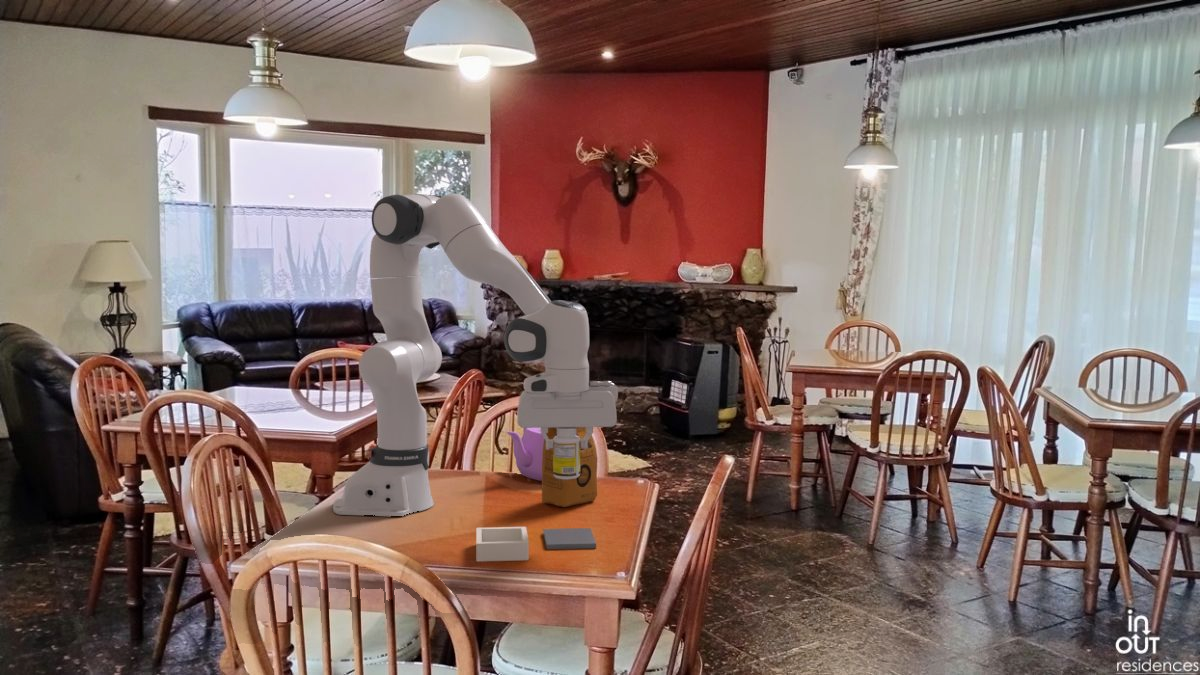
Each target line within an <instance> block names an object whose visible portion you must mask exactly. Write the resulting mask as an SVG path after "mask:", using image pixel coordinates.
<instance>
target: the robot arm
mask: <svg viewBox="0 0 1200 675" xmlns="http://www.w3.org/2000/svg"><path fill="white" fill-rule="evenodd" d="M371 226H372V229H373V231H374V233H375V234H374V235H373V237H372V239H371V241H370V242H371V243H370V252H369V276H370V277H369V278H370V288H371V290H370V291H371V302H372V311H373V314H374V316H375V317H376V318H377V319H378V321H379V322H380V323H381V326H382V327H383V330H384V333H385V336H386V340H382V341H379V342H377V343H375V344H373V345H371V346H370V347H369V348H367V349H366V350H365V351H364V352H363V353H362V355H361V356H360V358H359V361H358V371H359V375H360V378H361V380H363V382H364V383H365V384H366V386H368V387H369V389H370V392H371V395H372V397H373V401H374V405H375V410H376V417H377V418H376V420H377V423H376V424H377V444H376V443H371V444H370V445H369V446H368V449H367V450H368V461H369V462H367V463H365V465H363V466H362V467H360V468H359V469H358V470H357V471H355V472H354V473H353V474H352V475H351V476H349V478H348V479H347V480H346V482H345V483H344V484H345V485H344V488H343V495H342V496H339V497H338V498H336V499H335V500H334V502H333V504H332V505H333V506H332V511H333V513H335V514H336V515H343V516H344V515H345V516H364V515H373V517H391V516H402V517H404V515H405V516H407V515H406V514H408V515H410V514H414V513H418V512H417V511H419V512H423V511H425V510H426V511H427V510H428V509H430V508H432V507H433V506H434V503H435V502H434V500H433V497H432V492H431V486H430V481H429V473H428V471H429V470H428V469H429V466H430V449H429V444H428V443H427V442H428V440H427V434H428V433H427V430H428V428H427V424H428V422H427V421H428V419H427V418H428V417H427V416H428V414H427V410H426V408H425V407H424V406H422V404H421V401H420V398H419V394H418V391H417V383H421V382H425V381H426V380H428V379H429V378H430V377H432V376H433V375H435V373H437V372H438V371H439V369H440V368H441V365H442V361H443V354H442V350H441V347H440V346H439V345H438V343H437V342H436V340H434V339H433V336H432V334H431V331H430V328H429V325H428V322H427V319H426V315H425V310H424V306H423V296H422V285H421V284H422V283H421V274H420V265H419V264H420V262H419V260H420V258H419V256H420V253H421V252H422V250H423V249H424V248H428V249H429V250H430V249H434V248H435V247H438V246H439V245H440V246H441V248H442V250H443V251H444V253H445V254H446V256H447V258H448V259H449V261H450V263H452V264H451V265H452V266H454V268H455V269H456V270H457V271H458V272H459V273H460V274H461V275H462V276H463V277H465V278H467V279H469V280H471V281H473V282H474V281H475V282H479V283H483V284H485V285H486V284H487V285H488V286H492V287H495V288H497V289H499V290H501V291H503V292H504V293H506V294H508V295H509V297H510V298H511V299H512V300H513V302H515V303H516V305H517V306H518V307H519V309H520V310H521V311H522V313H523V314H524V315H522V316H519V317H517V318H514V319H512V320H510V322H509V323H508V324H507V326H506V328H505V331H504V334H503V342H504V343H503V344H504V347H505V349H506V353H507V354H508V355H509V356H510V358H512V359H513V360H514V361H516V362H519V363H525V364H527V363H528V364H529V363H535V362H544V364H545V365H544V366H545V371H543V372H541V373H537V374H534V375H532V376H528V377H526V378H524V380H523V384H522V385H523V389H524V390H522V392H521V394H520V395H519V399H518V406H517V413H516V423H517V425H518V426H519V427H520V428H522V429H524V428H541V434H542V435H543V437H544V439H545V440H546V449H553V448H554V446H553V444H554V441H553V439H549V438H548V436H547V435H546V433H548V428H551V427H585V430H586V432H587V434H586V435H585V437H584V439H580V449H587V448H588V440H589V438H590V437H591V436H592V435H593V434H594V428H605V427H606V428H612V427H613V428H614V426H615V425H616V424H617V423H618V419H617V407H616V402H617V401H618V398H619V389H618V387H617V385H616V384H615V383H613V382H612V381H610V380H603V381H601V380H600V381H599V380H598V381H597V380H590V363H589V360H588V351H589V348H590V324H589V317H588V312H587V310H586V308H585V307H584V306H583V305H582V304H581V303H578V302H574V301H569V300H561V299H558V300H557V299H556V300H551V299H550V298H549V296H548V295H547V294H546V293H545V291H544V290H543V289H542V288H541V286H540V285H539V284H538V282H536V280H535V279H534V278H533V276H532V275H531V274H530V272H528V270H527V269H526V268H525V267H524V266H523V264H522V263H521V262H519V260H518V259H517V258H516V257H515V256H514V255H513V254H512V253H511V252H510V251H509V250H508V249H507V247H506V246H505V245H504V244H503V242H502V241H501V240H500V239H499V237H498V236H497V234H496V233H495V232H494V230H493V229H492V227H491V226H490V225H489V222H488V221H487V220H486V219H485V217H484V216H483V214H482V213H481V212H480V211H479V209H478V208H476V206H475V205H474V204H473V203H472V202H471V201H470V200H469V199H468V198H467V197H465V196H464V195H462V194H459V193H454V192H453V193H448V194H445V195H442V196H441V195H431V194H424V193H423V194H422V193H416V194H414V193H413V194H402V195H401V194H392V195H388V196H384V197H382V198H380V199H379V200H378V201H377V202H376V203H375V204H374V206H373V209H372V213H371ZM413 512H414V513H413ZM409 513H410V514H409ZM374 515H375V516H374Z"/></svg>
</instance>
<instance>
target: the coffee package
mask: <svg viewBox="0 0 1200 675" xmlns="http://www.w3.org/2000/svg"><path fill="white" fill-rule="evenodd" d="M576 432H577V433H576V436H578V437H579V438H580V439H584V437H585V435H586V434H587V432H586V430H585V427H576ZM546 435H547V436H548V438H549V439H553V438H554V437H555V436H558V435H557V427H551V428H548V433H546ZM597 474H598V455H597V448H596V446H595V443H594V439H593V436H592V435H591V437H590V438H589V440H588V448H587V449H580V476H579V477H577V478H574V479H558V478H556V477H554V475H553V449H546V440H545V439H544V444H543V460H542V481H541V487H542V488H541V502H542V503H543V504H549V505H555V506H557V507H563V508H566V507H571V506H575V505H581V504H586V503H589V502H594V501H595V500H596V498H597V496H598V481H597V480H598V479H597V478H598V476H597Z"/></svg>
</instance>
